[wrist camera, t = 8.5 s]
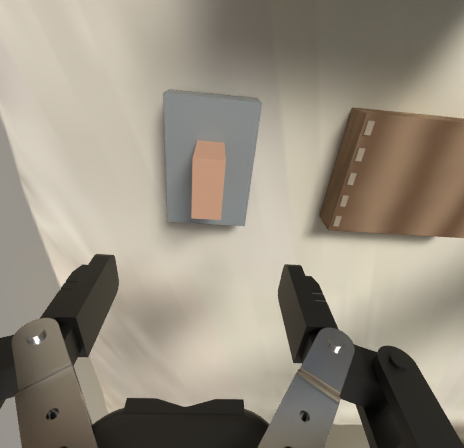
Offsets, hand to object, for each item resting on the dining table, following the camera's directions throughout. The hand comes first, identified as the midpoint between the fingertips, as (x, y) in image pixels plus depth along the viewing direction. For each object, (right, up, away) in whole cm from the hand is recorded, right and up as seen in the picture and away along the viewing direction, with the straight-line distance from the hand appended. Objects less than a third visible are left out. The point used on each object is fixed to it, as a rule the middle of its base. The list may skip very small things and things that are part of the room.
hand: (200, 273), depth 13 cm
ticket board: (+20, +8, +17) cm, 27 cm away
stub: (-1, +9, +15) cm, 17 cm away
